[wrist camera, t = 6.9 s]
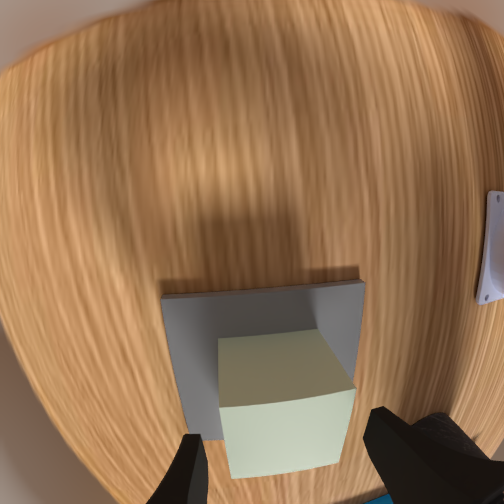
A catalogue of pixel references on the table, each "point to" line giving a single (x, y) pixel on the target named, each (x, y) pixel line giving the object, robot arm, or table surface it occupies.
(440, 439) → the travel mug
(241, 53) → the table surface
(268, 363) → the cube
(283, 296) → the coaster
